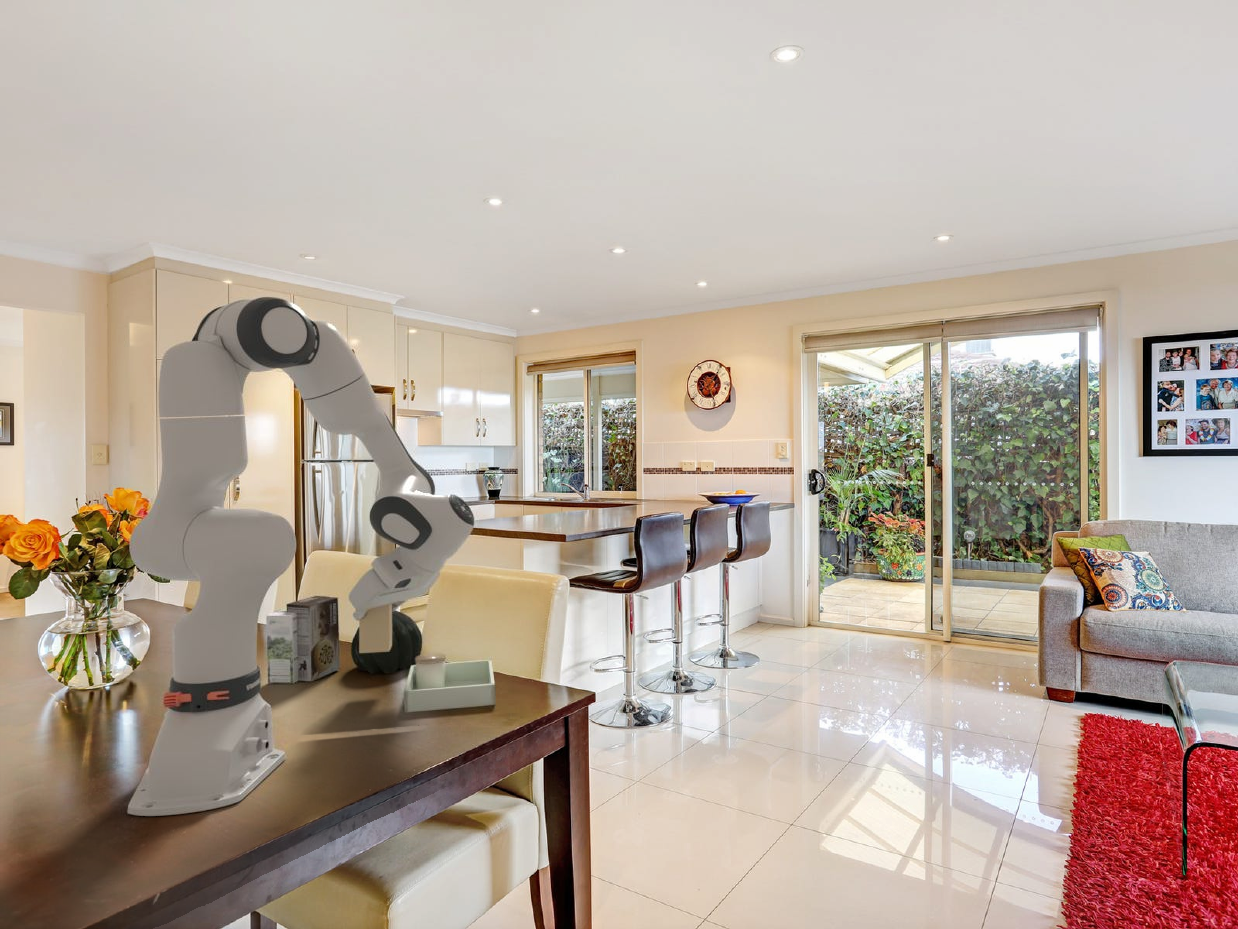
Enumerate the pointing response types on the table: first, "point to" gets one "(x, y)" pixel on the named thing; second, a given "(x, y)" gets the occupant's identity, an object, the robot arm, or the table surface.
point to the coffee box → (317, 636)
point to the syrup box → (282, 647)
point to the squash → (401, 652)
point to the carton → (376, 630)
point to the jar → (430, 671)
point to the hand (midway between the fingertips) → (373, 613)
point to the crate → (454, 688)
